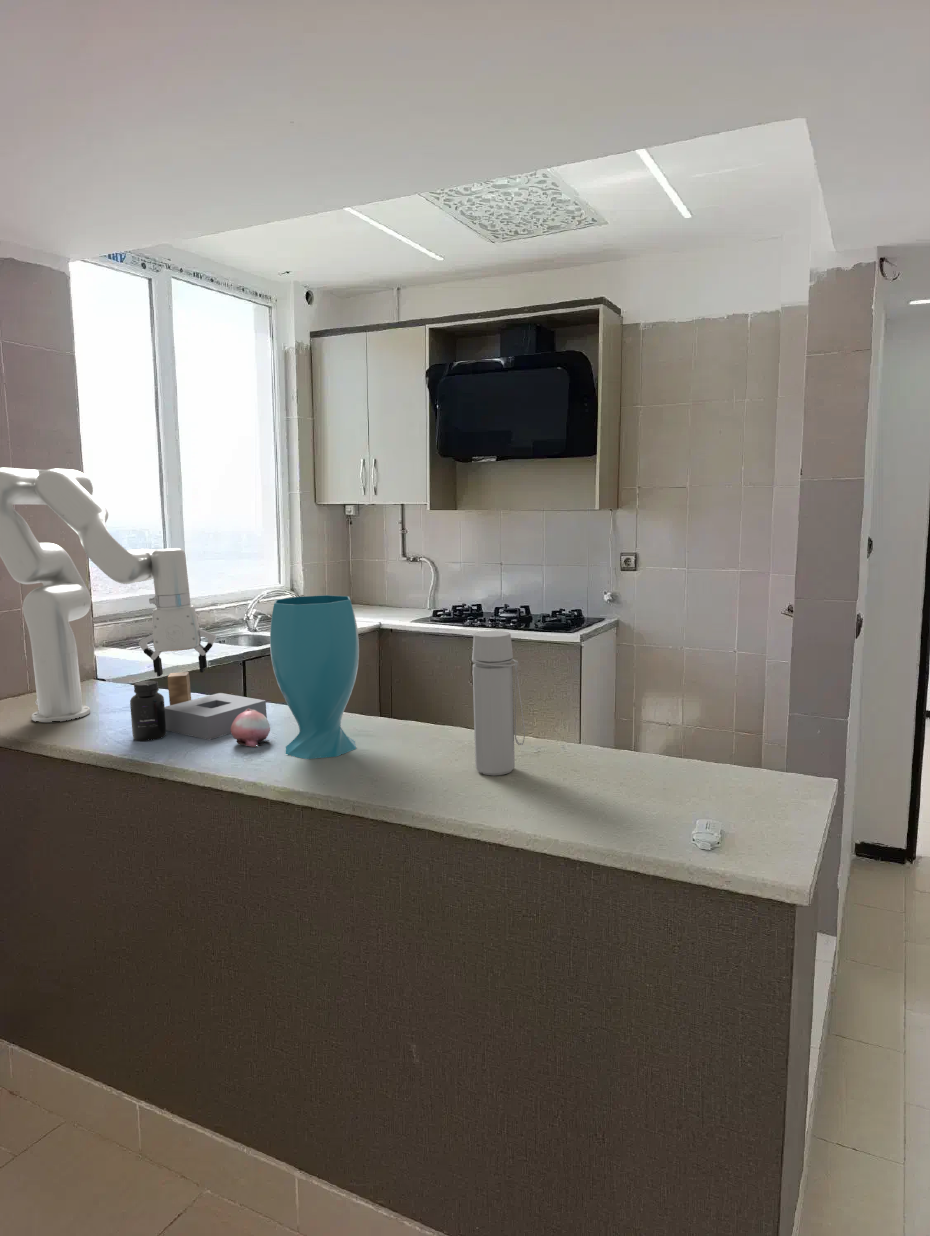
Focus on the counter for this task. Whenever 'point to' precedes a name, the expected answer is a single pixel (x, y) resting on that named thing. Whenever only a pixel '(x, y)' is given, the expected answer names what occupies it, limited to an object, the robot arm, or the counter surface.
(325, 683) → the vase
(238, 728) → the pink round piece
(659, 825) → the counter surface
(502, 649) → the water bottle
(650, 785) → the counter surface
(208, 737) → the socket block
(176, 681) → the peg
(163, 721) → the supplement bottle
